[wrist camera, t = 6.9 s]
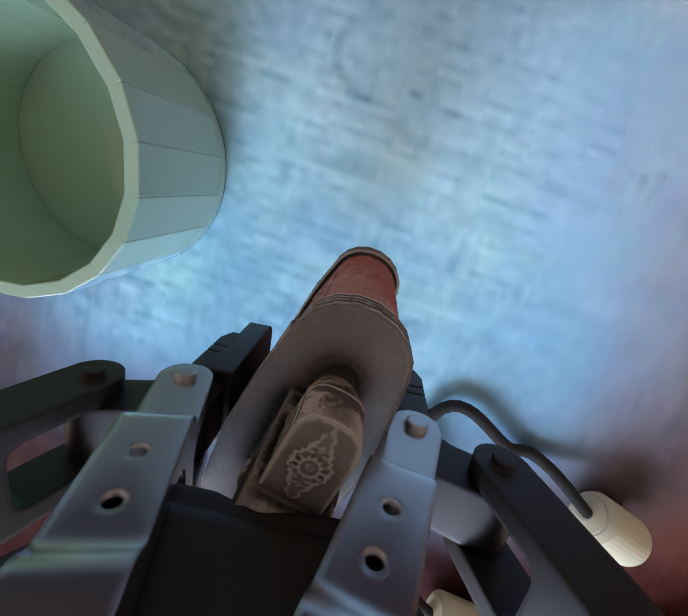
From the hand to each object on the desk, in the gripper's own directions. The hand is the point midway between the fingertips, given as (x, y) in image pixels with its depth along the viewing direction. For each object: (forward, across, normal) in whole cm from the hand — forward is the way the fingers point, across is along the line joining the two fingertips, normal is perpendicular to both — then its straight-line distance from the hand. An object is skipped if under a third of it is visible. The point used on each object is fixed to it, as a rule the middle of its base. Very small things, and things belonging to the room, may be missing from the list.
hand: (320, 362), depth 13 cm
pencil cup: (+9, +14, -5) cm, 17 cm away
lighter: (+3, 0, 0) cm, 3 cm away
